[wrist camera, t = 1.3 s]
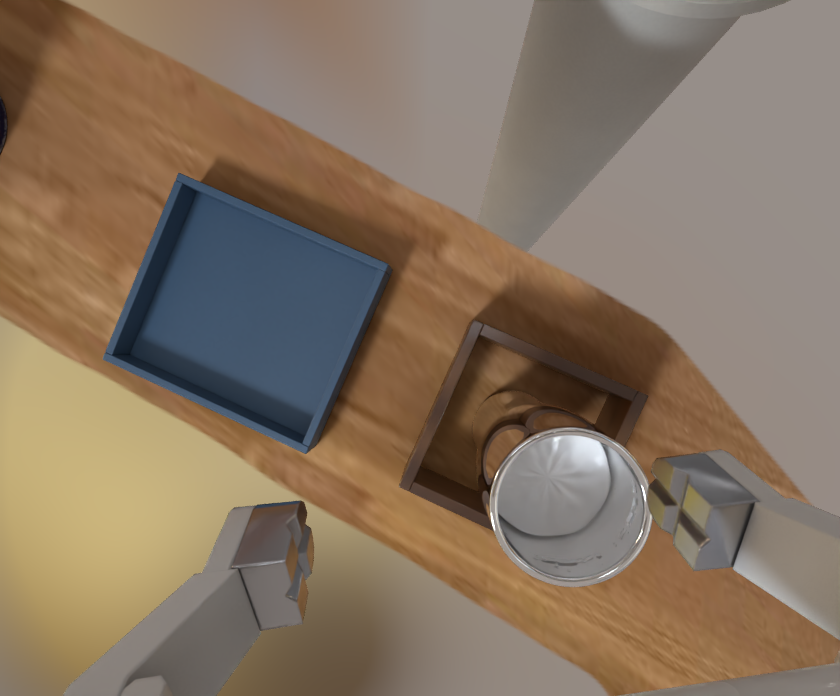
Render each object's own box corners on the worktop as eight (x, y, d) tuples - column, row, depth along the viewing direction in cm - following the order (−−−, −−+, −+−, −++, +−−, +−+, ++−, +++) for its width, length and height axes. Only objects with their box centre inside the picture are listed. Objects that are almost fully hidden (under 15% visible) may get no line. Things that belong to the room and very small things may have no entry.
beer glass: (511, 493, 32) (570, 628, 17) (447, 428, 32) (449, 504, 17) (576, 430, 31) (697, 511, 16) (512, 365, 32) (571, 387, 17)
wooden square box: (469, 321, 32) (473, 318, 28) (623, 388, 31) (649, 395, 27) (404, 468, 32) (398, 487, 28) (553, 538, 32) (569, 566, 28)
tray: (197, 184, 33) (178, 172, 31) (393, 269, 32) (388, 263, 30) (126, 357, 34) (101, 359, 31) (316, 446, 33) (305, 454, 30)
